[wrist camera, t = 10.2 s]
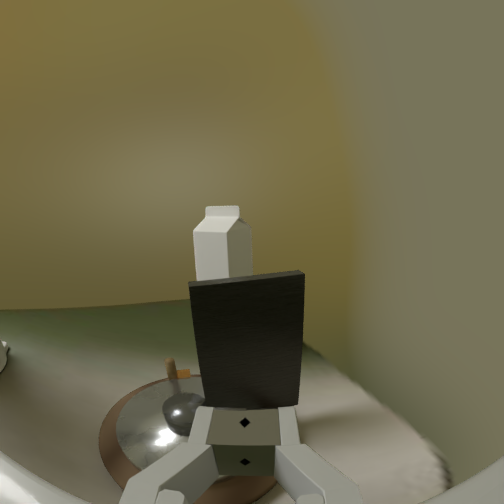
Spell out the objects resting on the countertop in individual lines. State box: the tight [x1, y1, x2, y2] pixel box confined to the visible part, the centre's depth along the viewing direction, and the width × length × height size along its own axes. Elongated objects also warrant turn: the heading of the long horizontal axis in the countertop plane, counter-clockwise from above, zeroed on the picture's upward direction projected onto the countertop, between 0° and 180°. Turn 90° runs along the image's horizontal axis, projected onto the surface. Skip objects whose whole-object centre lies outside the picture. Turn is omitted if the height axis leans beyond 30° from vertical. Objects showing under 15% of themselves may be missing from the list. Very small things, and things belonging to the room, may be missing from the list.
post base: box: [99, 358, 278, 504], centre depth 22 cm, size 20×20×5 cm
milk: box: [193, 206, 253, 281], centre depth 40 cm, size 6×6×22 cm
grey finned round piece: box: [116, 270, 305, 485], centre depth 22 cm, size 18×17×15 cm
